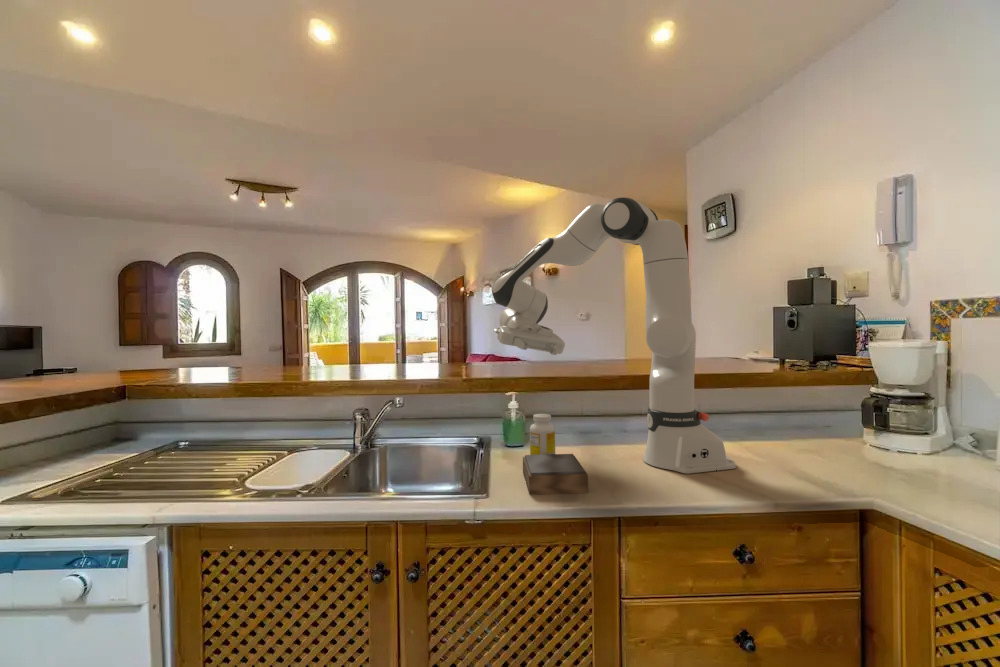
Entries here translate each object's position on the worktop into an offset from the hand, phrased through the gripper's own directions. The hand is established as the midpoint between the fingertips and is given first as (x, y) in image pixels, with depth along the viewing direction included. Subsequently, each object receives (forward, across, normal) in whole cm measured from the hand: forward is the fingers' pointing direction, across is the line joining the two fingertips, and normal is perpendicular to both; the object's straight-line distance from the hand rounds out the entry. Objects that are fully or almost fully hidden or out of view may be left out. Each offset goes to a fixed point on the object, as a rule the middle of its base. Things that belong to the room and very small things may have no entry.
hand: (540, 349), depth 126 cm
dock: (+28, 0, +23) cm, 36 cm away
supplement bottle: (+15, +3, +26) cm, 31 cm away
